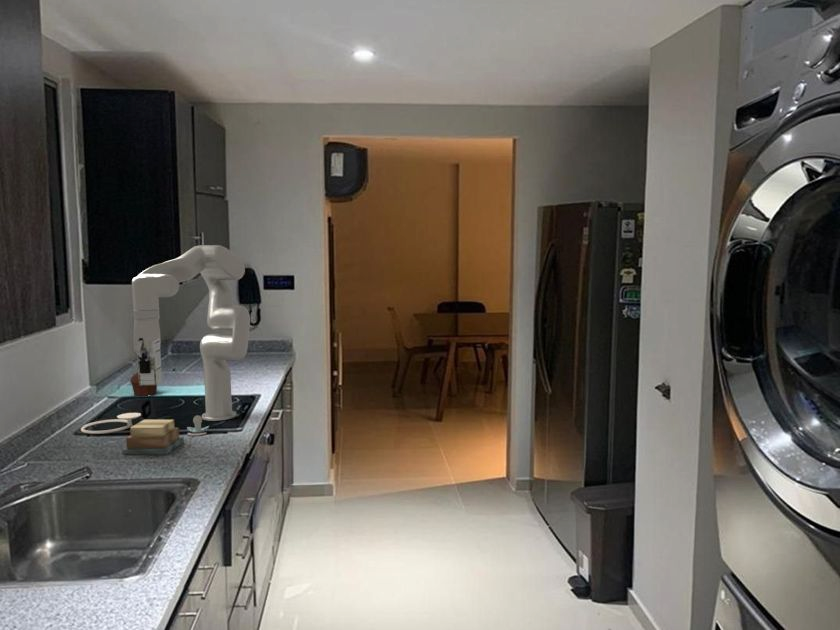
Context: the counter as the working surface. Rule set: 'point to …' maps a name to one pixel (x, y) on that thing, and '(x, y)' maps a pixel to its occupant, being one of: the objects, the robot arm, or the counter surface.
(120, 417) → the hand towel holder
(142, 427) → the tower base
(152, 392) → the muffin
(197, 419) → the pacifier
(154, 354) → the syrup box
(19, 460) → the counter surface
